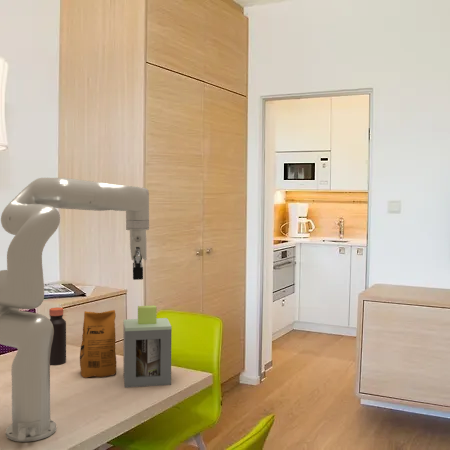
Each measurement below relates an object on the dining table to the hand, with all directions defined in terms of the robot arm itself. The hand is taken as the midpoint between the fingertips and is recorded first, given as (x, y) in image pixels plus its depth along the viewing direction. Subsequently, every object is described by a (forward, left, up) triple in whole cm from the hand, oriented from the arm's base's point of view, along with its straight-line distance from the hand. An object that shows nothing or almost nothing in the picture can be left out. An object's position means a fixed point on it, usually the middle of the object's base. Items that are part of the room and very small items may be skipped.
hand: (137, 276), depth 186 cm
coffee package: (+11, +13, -36) cm, 39 cm away
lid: (+1, -3, -18) cm, 18 cm away
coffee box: (+1, -3, -35) cm, 35 cm away
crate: (+1, -3, -35) cm, 35 cm away
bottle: (+26, +28, -36) cm, 52 cm away
